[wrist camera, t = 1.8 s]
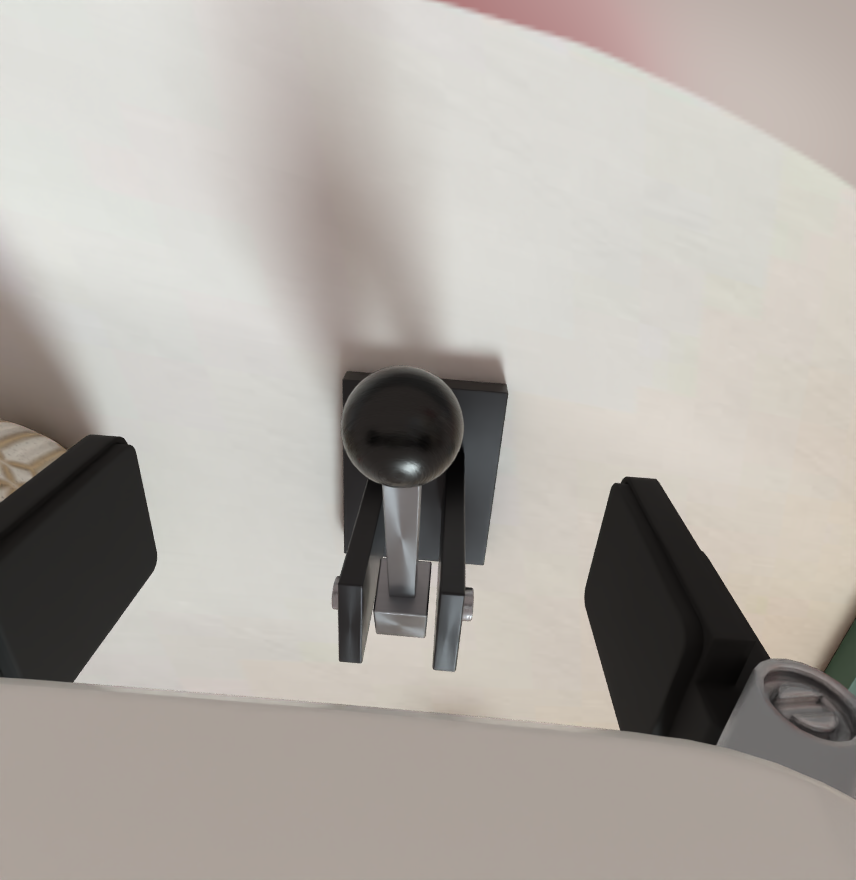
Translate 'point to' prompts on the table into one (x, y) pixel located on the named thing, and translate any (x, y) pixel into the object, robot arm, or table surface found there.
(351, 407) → the lever
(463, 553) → the switch bracket
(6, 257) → the table surface
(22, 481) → the vase
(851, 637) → the switch box
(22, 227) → the table surface
